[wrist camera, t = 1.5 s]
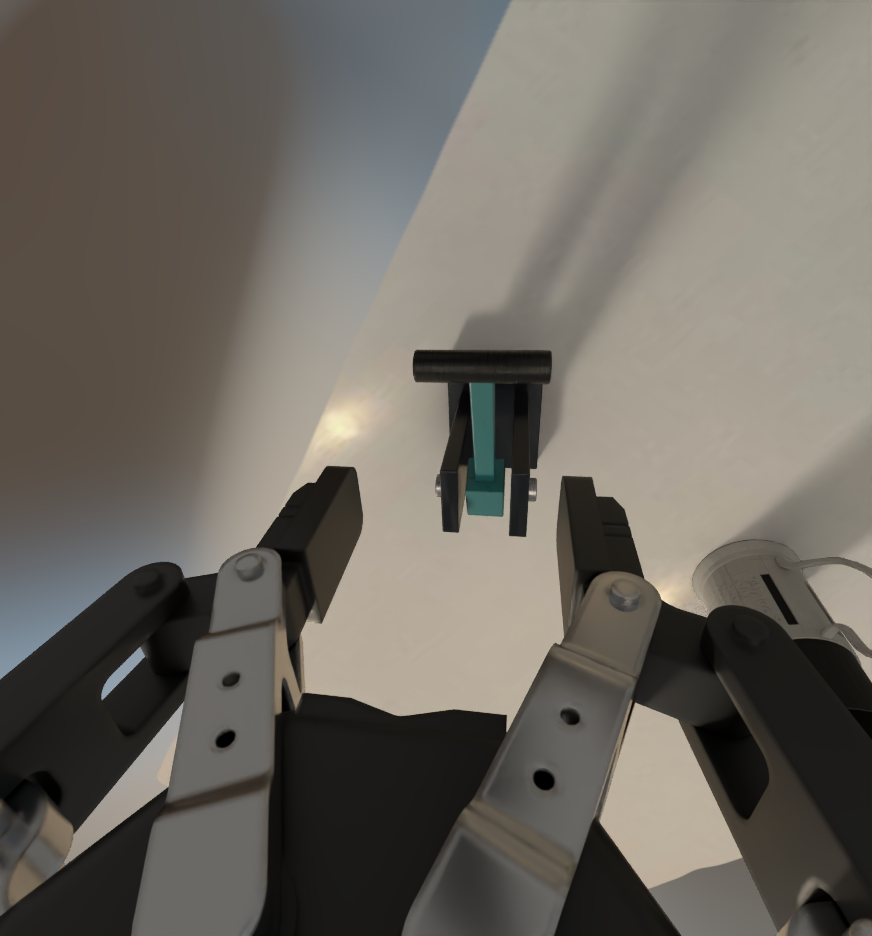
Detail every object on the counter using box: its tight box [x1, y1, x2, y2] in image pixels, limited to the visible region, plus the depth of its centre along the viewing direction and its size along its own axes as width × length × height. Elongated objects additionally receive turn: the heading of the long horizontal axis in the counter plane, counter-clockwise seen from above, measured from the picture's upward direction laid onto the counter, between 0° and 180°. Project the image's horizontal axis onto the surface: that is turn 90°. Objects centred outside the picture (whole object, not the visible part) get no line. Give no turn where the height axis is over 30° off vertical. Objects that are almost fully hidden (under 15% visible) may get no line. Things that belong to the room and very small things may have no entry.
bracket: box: [436, 383, 543, 537], centre depth 34 cm, size 9×7×13 cm
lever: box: [413, 350, 552, 517], centre depth 27 cm, size 12×6×2 cm, turn 3°
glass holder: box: [693, 540, 872, 740], centre depth 37 cm, size 9×14×15 cm, turn 171°
